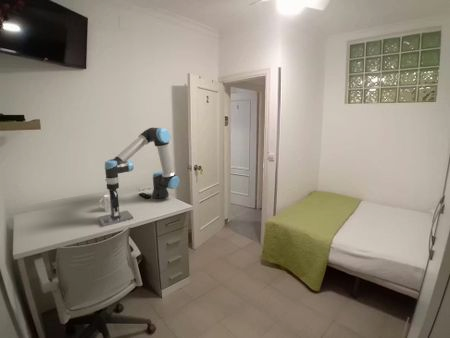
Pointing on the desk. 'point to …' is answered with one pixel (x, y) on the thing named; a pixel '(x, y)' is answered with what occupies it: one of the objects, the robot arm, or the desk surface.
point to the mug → (106, 203)
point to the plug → (113, 210)
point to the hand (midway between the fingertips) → (115, 214)
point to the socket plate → (108, 219)
